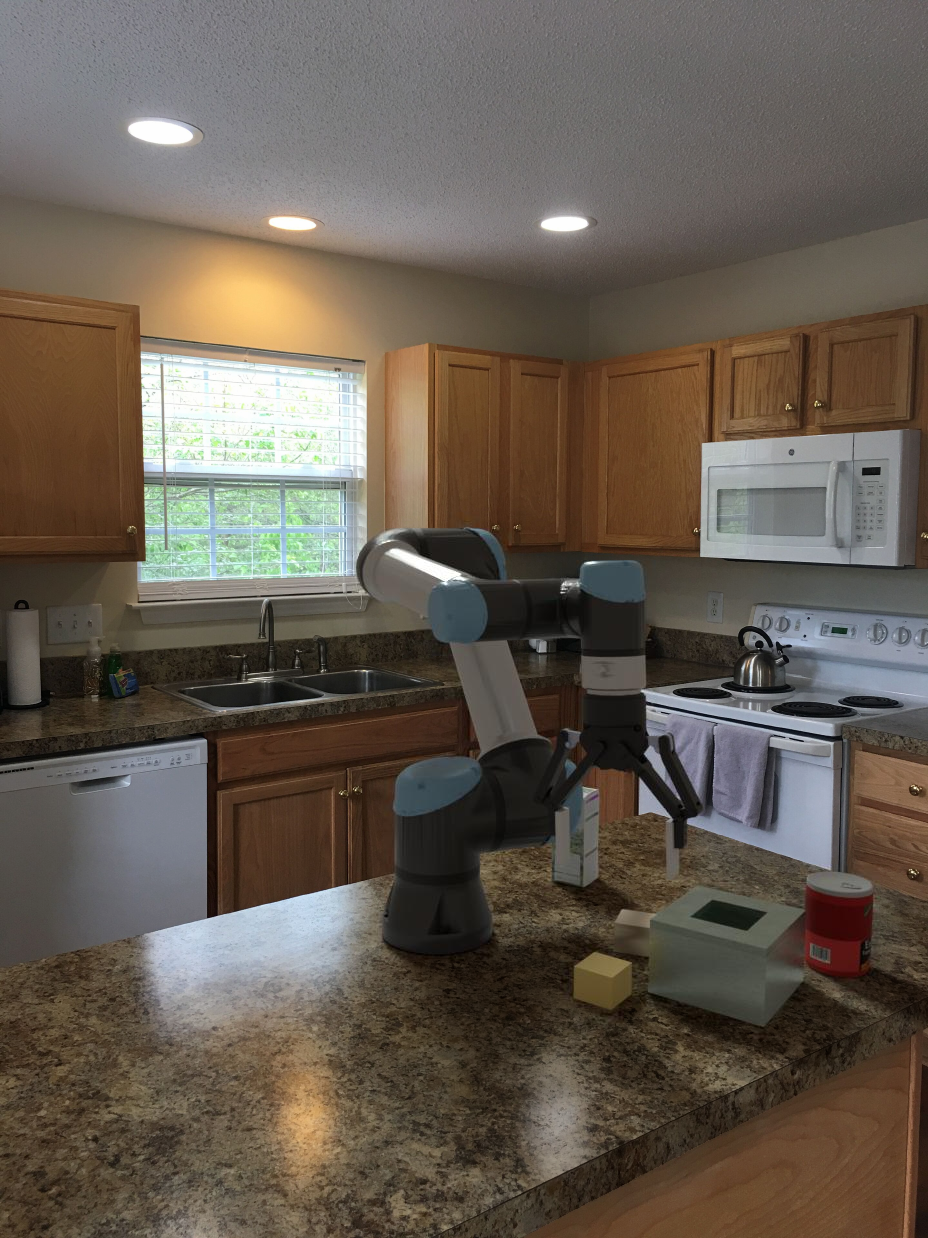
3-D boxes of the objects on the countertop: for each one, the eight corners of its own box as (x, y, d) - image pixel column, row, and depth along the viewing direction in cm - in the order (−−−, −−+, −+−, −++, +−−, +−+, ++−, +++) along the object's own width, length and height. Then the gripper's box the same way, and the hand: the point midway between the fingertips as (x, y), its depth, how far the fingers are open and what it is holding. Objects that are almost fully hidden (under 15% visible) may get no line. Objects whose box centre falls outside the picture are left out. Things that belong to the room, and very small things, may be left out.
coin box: (648, 992, 120) (650, 919, 119) (695, 952, 131) (697, 885, 130) (763, 1027, 111) (766, 949, 111) (803, 981, 123) (805, 910, 122)
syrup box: (599, 877, 158) (600, 788, 157) (583, 889, 153) (584, 796, 152) (566, 871, 161) (568, 782, 160) (549, 882, 156) (551, 791, 155)
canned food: (875, 982, 123) (879, 895, 122) (807, 976, 124) (810, 890, 123) (863, 955, 130) (867, 873, 129) (799, 950, 132) (802, 869, 131)
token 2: (613, 952, 131) (614, 923, 131) (621, 937, 136) (622, 909, 135) (651, 958, 129) (652, 928, 129) (658, 943, 134) (659, 914, 134)
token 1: (573, 999, 118) (574, 966, 118) (594, 983, 122) (594, 952, 122) (611, 1011, 115) (612, 978, 115) (631, 995, 119) (631, 962, 119)
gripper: (504, 691, 121) (508, 865, 121) (712, 698, 109) (714, 890, 110) (529, 685, 127) (532, 850, 128) (727, 690, 116) (729, 872, 117)
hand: (616, 869), depth 119 cm, fingers open, 13 cm apart
